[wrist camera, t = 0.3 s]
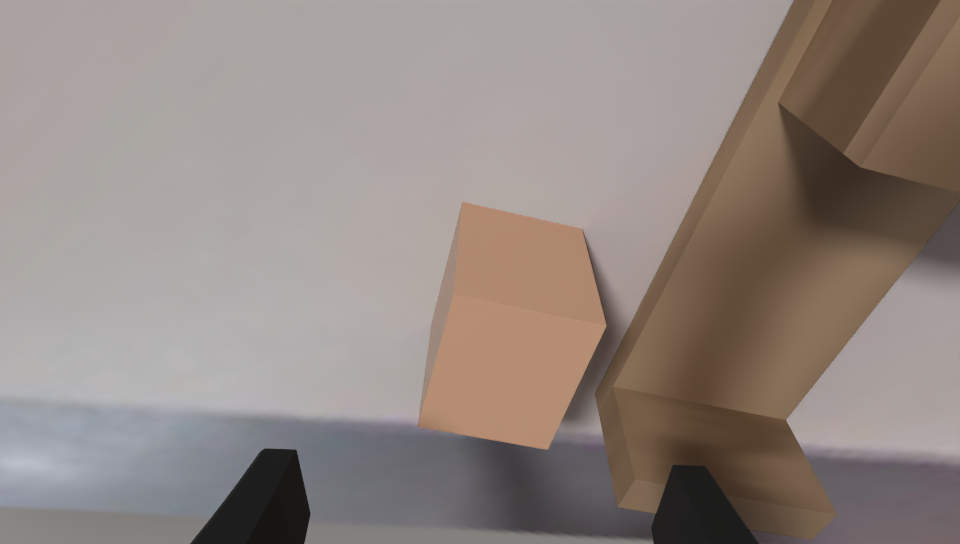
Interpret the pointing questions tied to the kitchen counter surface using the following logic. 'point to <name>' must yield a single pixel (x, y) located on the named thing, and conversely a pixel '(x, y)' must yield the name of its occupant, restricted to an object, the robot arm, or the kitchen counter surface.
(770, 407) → the rig
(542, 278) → the block
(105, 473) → the kitchen counter surface
